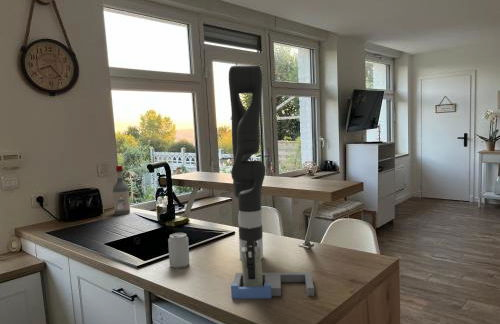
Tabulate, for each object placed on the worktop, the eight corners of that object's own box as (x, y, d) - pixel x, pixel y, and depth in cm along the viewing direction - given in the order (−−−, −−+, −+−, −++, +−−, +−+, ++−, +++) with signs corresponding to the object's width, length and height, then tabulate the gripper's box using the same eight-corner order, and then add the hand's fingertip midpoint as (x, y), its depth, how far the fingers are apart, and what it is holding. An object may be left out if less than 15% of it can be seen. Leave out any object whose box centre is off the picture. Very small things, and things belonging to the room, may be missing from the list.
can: (167, 263, 144) (166, 233, 142) (187, 260, 146) (185, 230, 145) (171, 270, 137) (170, 238, 136) (191, 266, 140) (190, 235, 138)
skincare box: (262, 282, 122) (260, 245, 121) (263, 287, 118) (261, 250, 117) (242, 283, 122) (241, 246, 121) (242, 288, 118) (241, 251, 116)
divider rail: (236, 280, 126) (235, 268, 126) (310, 279, 125) (310, 267, 124) (231, 298, 113) (231, 285, 112) (314, 298, 111) (314, 285, 111)
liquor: (130, 214, 230) (126, 166, 227) (114, 215, 227) (110, 167, 225) (130, 211, 239) (126, 164, 236) (114, 212, 236) (111, 165, 233)
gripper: (240, 218, 125) (242, 267, 127) (236, 230, 111) (238, 285, 113) (262, 217, 125) (264, 266, 126) (261, 229, 110) (263, 285, 112)
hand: (252, 275), depth 119 cm, fingers closed on skincare box, 4 cm apart
